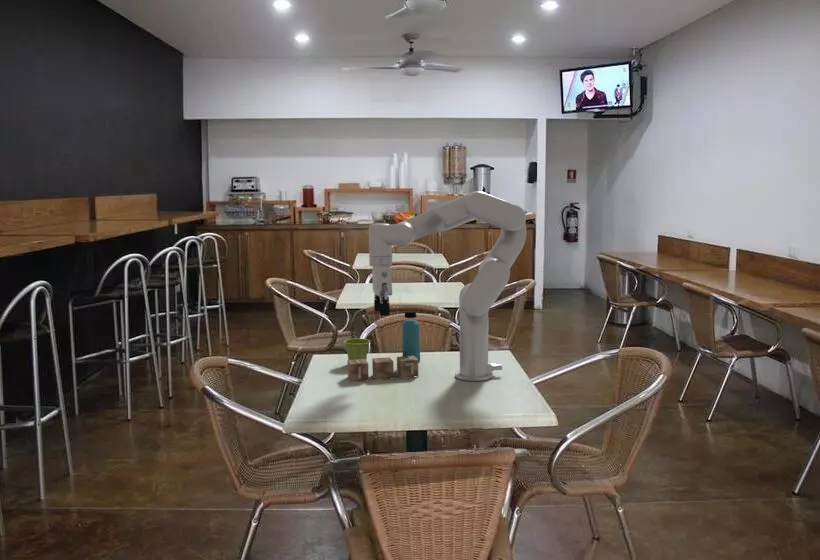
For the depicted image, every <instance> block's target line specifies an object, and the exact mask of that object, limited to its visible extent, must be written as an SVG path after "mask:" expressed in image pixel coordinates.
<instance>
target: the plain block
mask: <svg viewBox="0 0 820 560" xmlns="http://www.w3.org/2000/svg"><path fill="white" fill-rule="evenodd" d="M371 361H372V362H371V363H372V365H371V366H372V376H374V377H375V378H374V377H373V378H374V379H375V381H378V380H377V379H383V380H392V379H391V378H394V377H395V376H394V360H393V359H392V358H391V357H389V356H387V357H376V358H372V359H371Z"/></svg>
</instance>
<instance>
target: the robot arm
mask: <svg viewBox="0 0 820 560" xmlns="http://www.w3.org/2000/svg"><path fill="white" fill-rule="evenodd" d="M477 219H478V220H480V221H482V222H484V223H487V224H490V225H492V226H494V227H495V226H496V227H498V228H500V234H499V237H497V240H496V242H495V243H494V245H493V247H492V248H491V249H490V251H489V252H488V254H487V255H486V256H485V258H484V259H483V260H482V262H480V264H479V267H478V273H477V274H476V275H475V276H474V278H473V280H472V281H471V282H470V283H467V284H465V285H464V286H463V287H462V288H461V290H460V292H459V296H458V297H459V298H458V305H459V308H458V309H459V370H457V371H455V372H454V373H455V374H454V375H455V378H456V379H459V380H461V381H466V382H467V381H468V382H482V381H488V380H491V379H492V378H493V376H494V373H493V372H494V371H502V370H503V365H502V363H501V364H496V363H490V362H489V311H490V309H491V308H492V307H493V305H494V303H495V302H496V301H497V299H498V297H499V296H500V295H501V293H502V292H503V290H504V289H505V288H506V286H507V284H508V283H509V280H510V277H511V268H512V266H513V265H514V263H515V261H516V259H517V258H518V256H519V255H520V254H521V252H522V250H523V248H524V246H525V244H526V240H527V225H526V223H527V222H526V220H527V216H526V212H525V210H524V208H523V207H521V206H520V205H518V204H515V203H512V202H509V201H507V200H504V199H501V198H499V197H497V196H493V195H491V194H489V193H487V192H484V191H481V190H476V191H472V192H469V193H466V194H464V195H462V196H459V197H456V198H455V199H452V200H449V201H446V202H445V203H441V204H440V205H437V206H435V207H433V208H430V209H429V210H427V211H424V212H422V213H420V214H418V215H415V216H413V217H410V218H407V219H405V220H403V221H400V222H398V223H394V224H393V223H392V224H390V223H379V222H378V223H371V224H370V225H369V227H368V253H369V255H368V258H369V261H368V263H369V265H368V266H370V267H372V269H371V271H372V281H371V282H372V291H373V293H374V297H373V298H374V301H373V303H374V304H373V305H374V306H373V309H374V310H373V311H374V312H379V316H380V317H381V316H383V317H384V316H387V317H388V316H391V315H390V314H391V313H390V297H391V296H392V295H393V283H392V281H393V280H392V271H391V267H392V266H393V246H396V247H397V246H399V247H406V246H410V244H412V243H413V242H414V241H416V240H418V239H421V238H424V237H426V236H429V235H432V234H435V233H440V232H445V231H448V230H452V229H455V228H456V227H457V228H458V227H459V226H461V225H464V224H466V223H469V222H471V221H474V220H477Z"/></svg>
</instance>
